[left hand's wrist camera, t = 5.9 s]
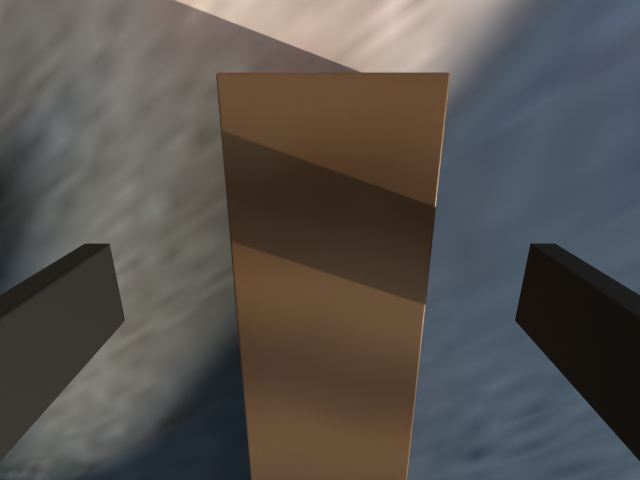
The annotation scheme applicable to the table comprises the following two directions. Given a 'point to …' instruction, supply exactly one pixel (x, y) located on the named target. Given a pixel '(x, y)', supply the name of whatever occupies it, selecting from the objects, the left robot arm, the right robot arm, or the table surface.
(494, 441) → the table surface
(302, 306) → the post
